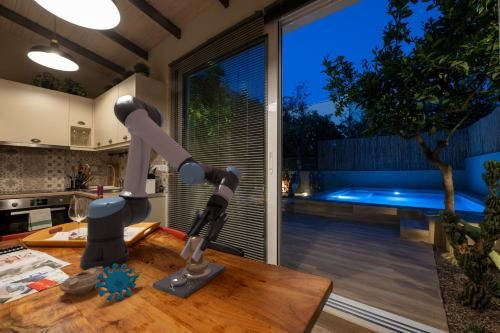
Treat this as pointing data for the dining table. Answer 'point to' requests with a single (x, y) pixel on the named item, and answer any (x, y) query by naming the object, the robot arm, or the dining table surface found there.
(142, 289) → the dining table surface
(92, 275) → the pottery oil lamp
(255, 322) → the dining table surface
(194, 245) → the metal knob
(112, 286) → the gear
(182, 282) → the carrier plate
